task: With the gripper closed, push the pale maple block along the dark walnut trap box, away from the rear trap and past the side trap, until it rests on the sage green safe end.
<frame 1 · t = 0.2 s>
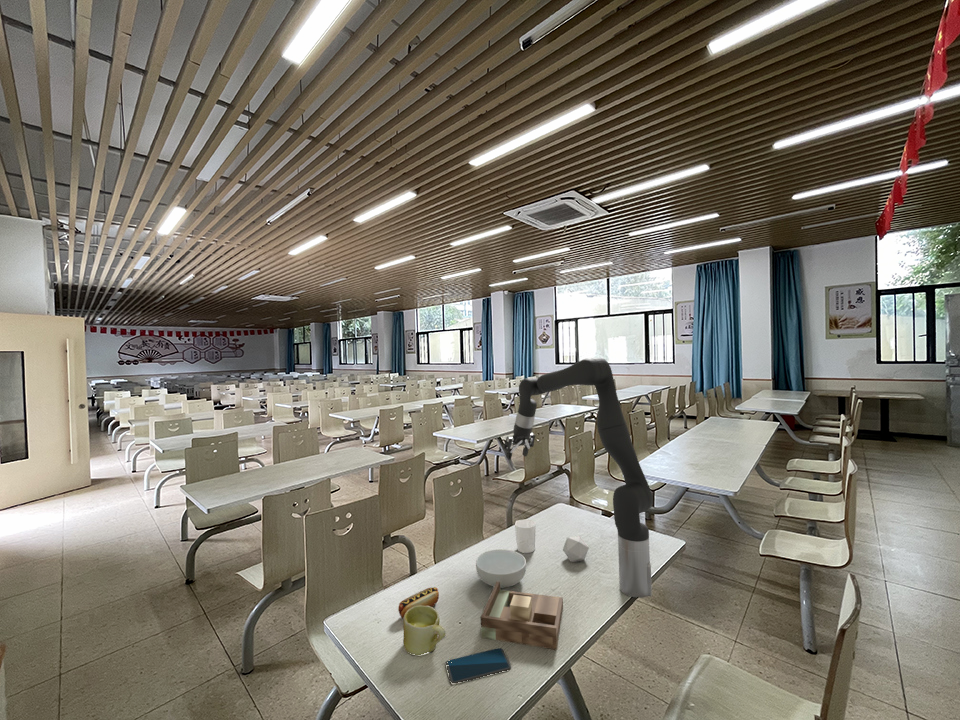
hand: (516, 457, 178), 31 cm above the table, fingers open, 8 cm apart
smartphone: (477, 668, 102), on the table
die: (576, 559, 152), on the table
maple block: (521, 619, 115), point 3 cm above the table, touching trap box
cereal bowl: (501, 582, 139), on the table
white cup: (526, 549, 161), on the table
hot dog: (420, 612, 125), on the table
trap box: (524, 621, 118), on the table
mug: (426, 648, 109), on the table
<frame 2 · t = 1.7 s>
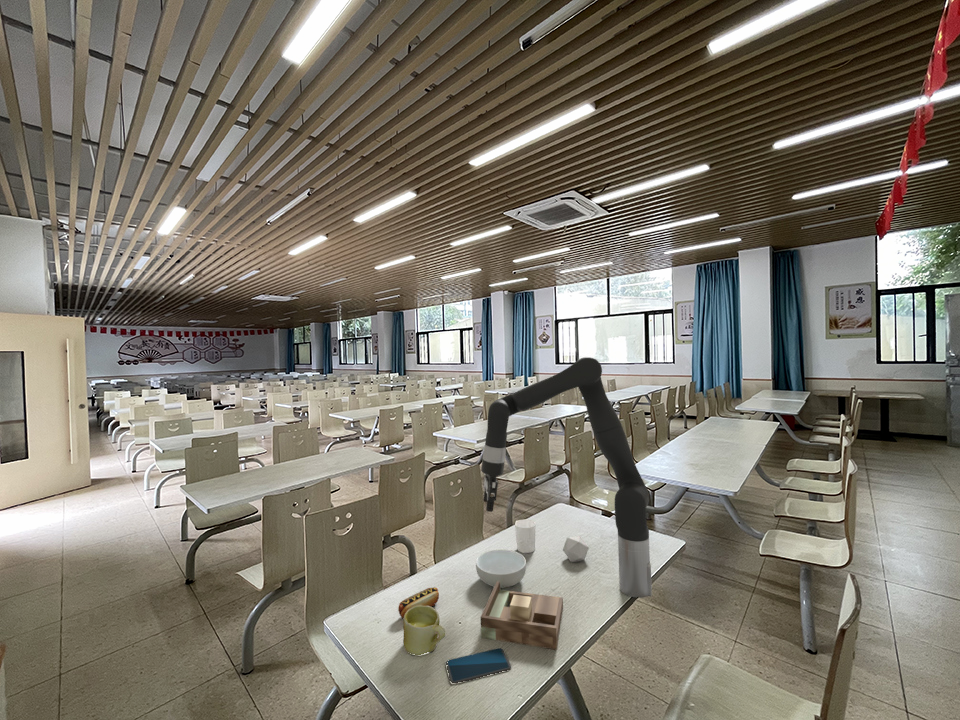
hand: (487, 506, 142), 24 cm above the table, fingers open, 8 cm apart
nothing on the table moved.
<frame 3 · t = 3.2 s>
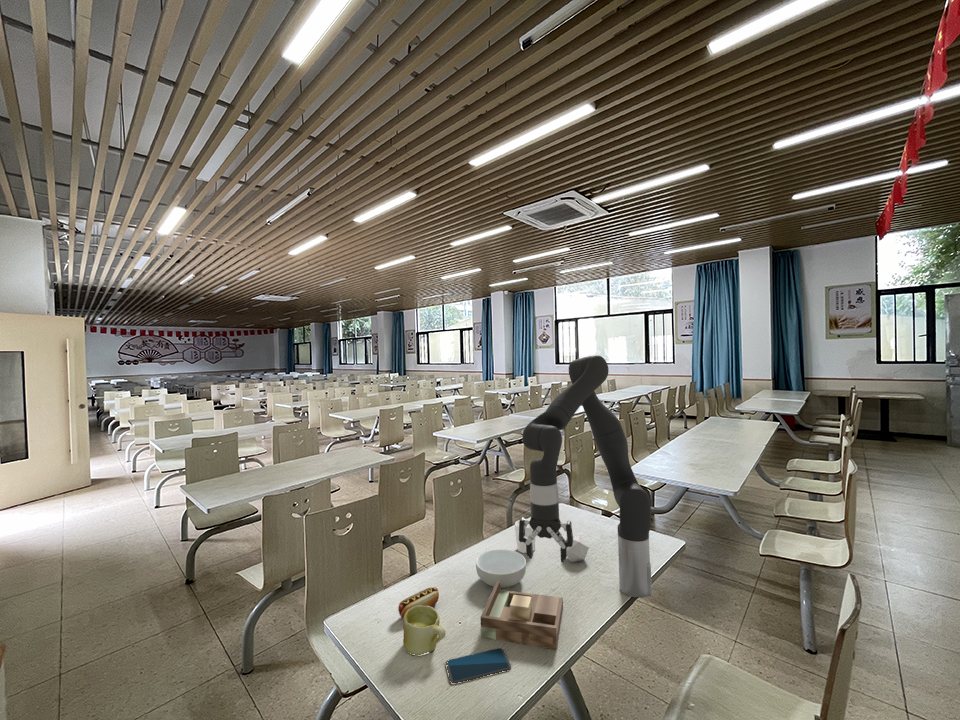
hand: (546, 559, 113), 20 cm above the table, fingers open, 8 cm apart
nothing on the table moved.
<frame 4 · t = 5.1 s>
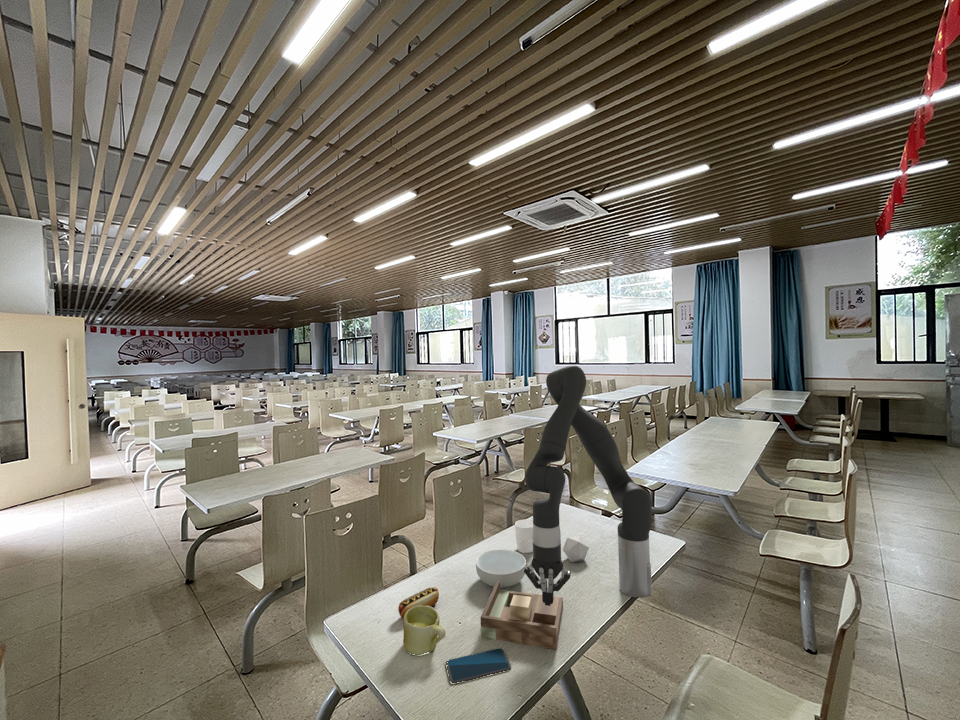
hand: (548, 603, 113), 8 cm above the table, fingers closed
nothing on the table moved.
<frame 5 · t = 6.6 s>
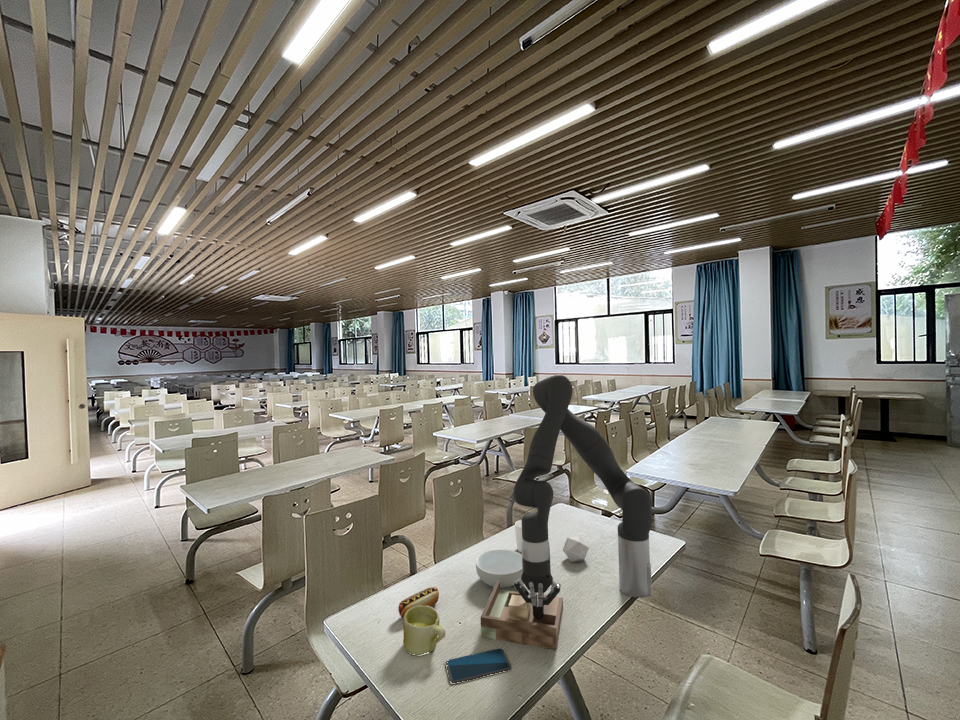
hand: (538, 617, 113), 4 cm above the table, fingers closed
maple block: (520, 618, 115), point 3 cm above the table, touching gripper, trap box
everything else where it was.
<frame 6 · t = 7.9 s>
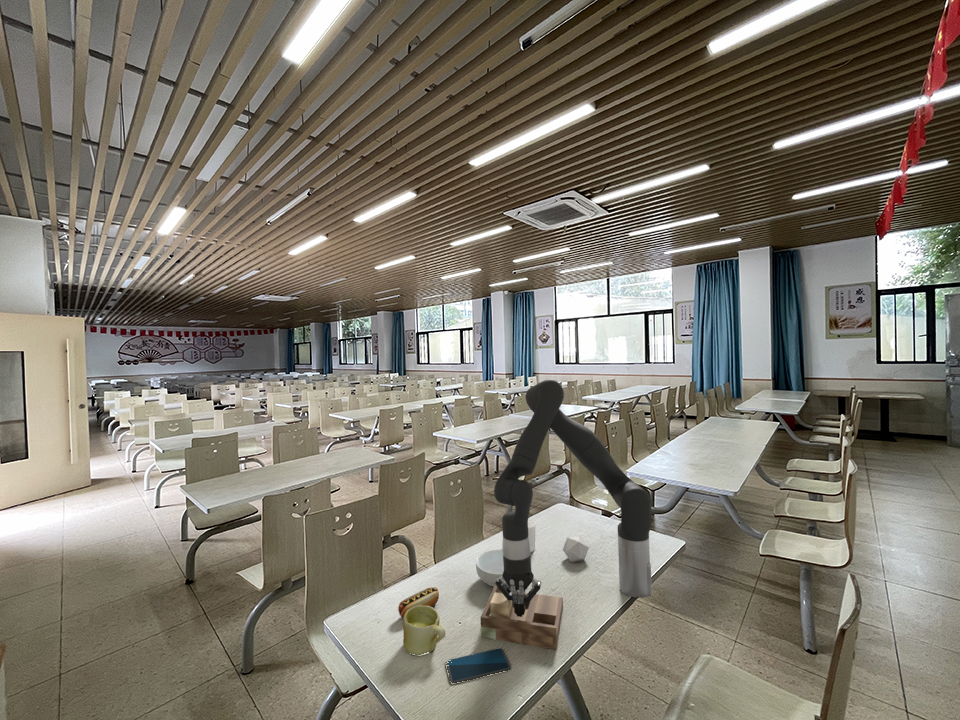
hand: (520, 614, 114), 4 cm above the table, fingers closed
maple block: (502, 616, 116), point 3 cm above the table, touching gripper, trap box
everything else where it was.
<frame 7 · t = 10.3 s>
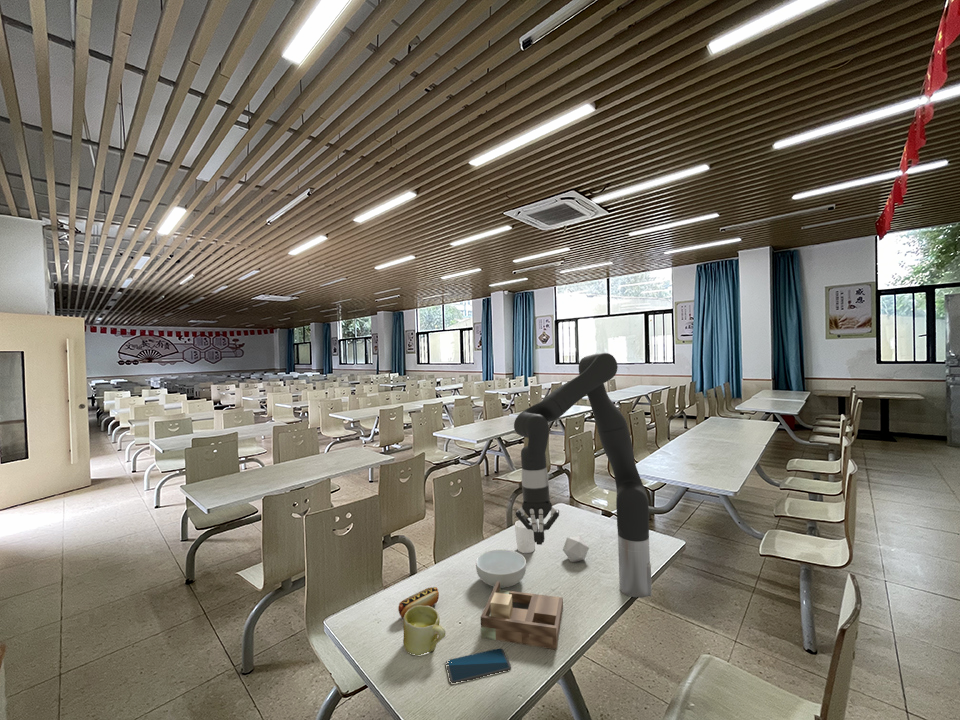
hand: (539, 543, 120), 21 cm above the table, fingers closed
maple block: (502, 616, 116), point 3 cm above the table, touching trap box
everything else where it was.
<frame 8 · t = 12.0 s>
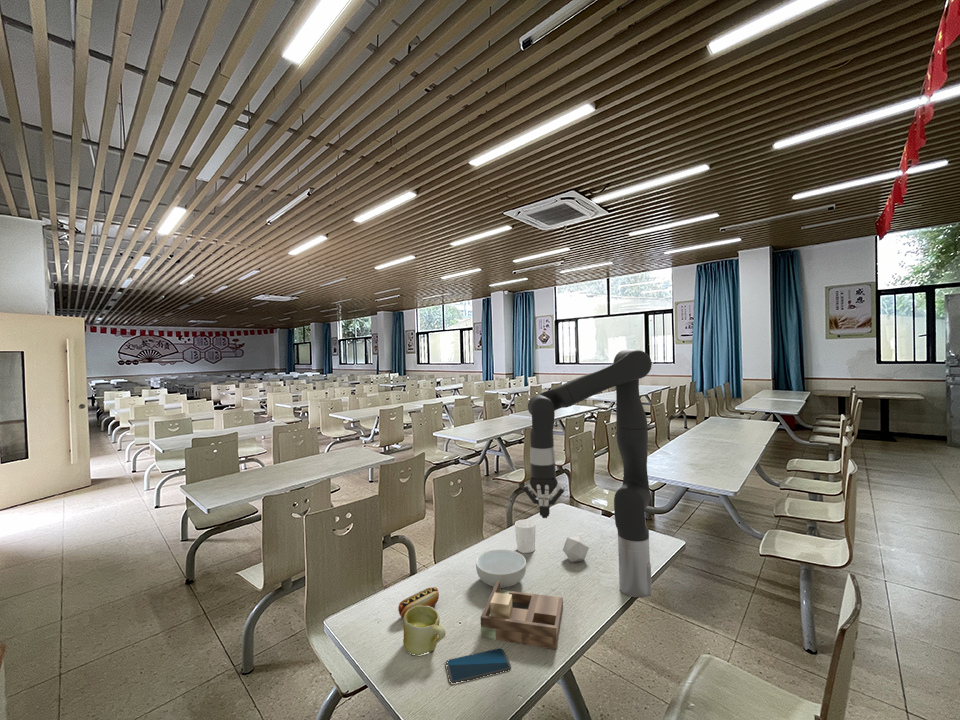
hand: (544, 517, 129), 25 cm above the table, fingers closed
nothing on the table moved.
at the end: maple block 0.7 cm from the target spot on the trap box, point 3.0 cm above the trap box's base; maple block tilted 0° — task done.
